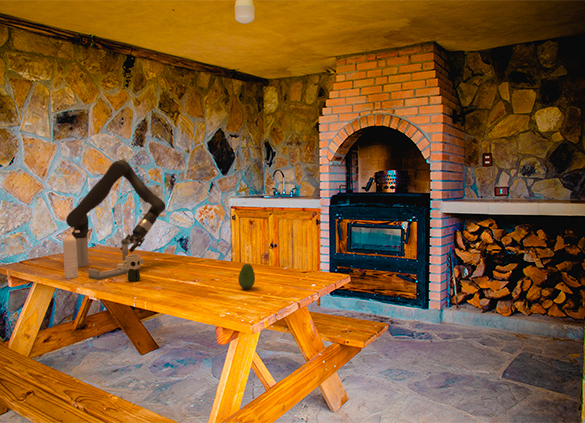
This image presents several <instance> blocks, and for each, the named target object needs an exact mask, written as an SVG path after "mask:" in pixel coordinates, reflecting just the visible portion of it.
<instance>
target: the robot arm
mask: <svg viewBox="0 0 585 423" xmlns="http://www.w3.org/2000/svg"><path fill="white" fill-rule="evenodd" d="M122 177H124V178H125V179H126V180H127V181H128V182H129V183H130V185H131V186H132V188H133V190H134V192H135V193H136V194H137V195H138V197H140V199H141V200H142V201H143V202H145V203H146V204H149V205H151V206H150V208H149V209H148V211H147V212H146V214H144V216H143V217H142V218H141V220H140V221H138V223H137V224H136V225H135V227H134V228H133V230H132V234H131V235H130V234H127V235H126V237H125V238H124V239H127V240H128V246H129V245H131V247H130V248H129V249H128V252H130V253H133V252H134V251H135V250H136V248H140V247H141V246H142V244H143V242H144V241H145V240H146V238H145V237H146V235H147V234H148V233H149V231H150V230H151V229H152V227H153V225H154V224H155V223H156V221H157V219H158V218H159V216H160V215H161V214H162V213H163V211H165V210H166V204H165V202H164V201H163V200H162V198H160V197H159V196H157V195H156V194H154V193H153V191H152V190H150V188H148V186H146V184H145V183H144V182H143V181H142V180H141V179H140V177H139V176H138V175H137V174H136V172H135V171H134V169H133V168H132V166H131V164H129V162H128V161H127V160H125V159H119V160H116V161H114V162H112V164H110V166H109V167H108V169H107V171H106V172H105V174H104V175H103V176H102V177H101V178H100V179H99V180H98V181H97V182H96V183H95V184H94V185H93V186H92V188H91V189H90V190H89V191H88V193H87V194H86V195H85V196H84V197H83V199H82V200H81V201H80V202H79V203H78V205H77V206H76V207H74V208H73V210H71V211H70V212H69V213H68V215H67V216H66V221H65V222H66V225H67V226H68V227H71V228H73V231H71V233H72V235H73V236H74V238H75V239H76V246H77V247H76V248H77V262H78V268H80V267H87V266H89V265H90V262H89V246H88V245H89V244H88V233H89V217H88V214H89V212H90V211H92V210H94V209H95V208H97V207H98V206H100V205H101V203H103V202H104V201H105V199H106V198H107V197H108V196H109V195H110V192H111V190H112V188H113V186H114V185H115V184H116V182H118V180H119V179H121V178H122ZM75 231H80V232H79V233H75ZM120 250H121V251H122V246H121V247H120Z"/></svg>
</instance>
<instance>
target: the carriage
mask: <svg viewBox="0 0 585 423" xmlns="http://www.w3.org/2000/svg"><path fill="white" fill-rule="evenodd" d="M120 244H121V247H122V250H121V252H122V253H121V254H122V255H121V256H122V262H121V263H116V269H118V268H119V269H128V268H126V267H123V261H125V260H126V256H128V255H129V249H128V248H129V245H128V240H127V239H125V238H123V239H122V240H121V243H120ZM125 265H126V262H125Z"/></svg>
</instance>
